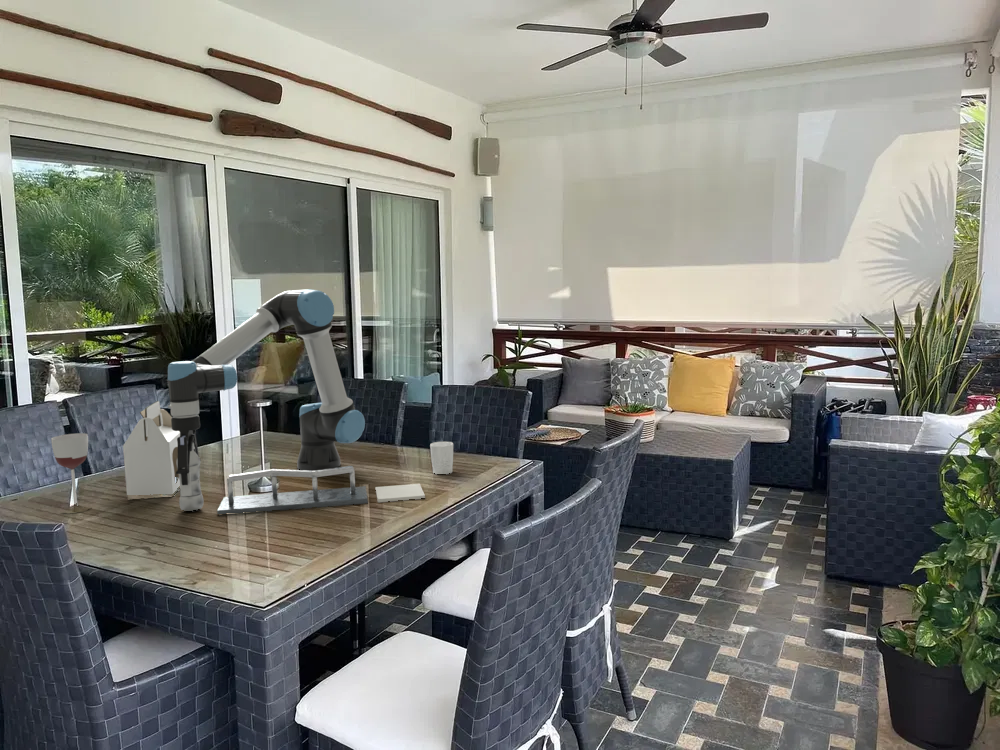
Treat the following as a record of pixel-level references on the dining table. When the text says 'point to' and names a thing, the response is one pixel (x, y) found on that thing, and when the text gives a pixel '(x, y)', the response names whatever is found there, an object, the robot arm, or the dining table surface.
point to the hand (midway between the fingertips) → (190, 490)
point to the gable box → (152, 454)
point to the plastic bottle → (192, 485)
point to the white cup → (442, 457)
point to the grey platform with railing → (292, 498)
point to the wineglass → (70, 453)
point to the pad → (399, 492)
